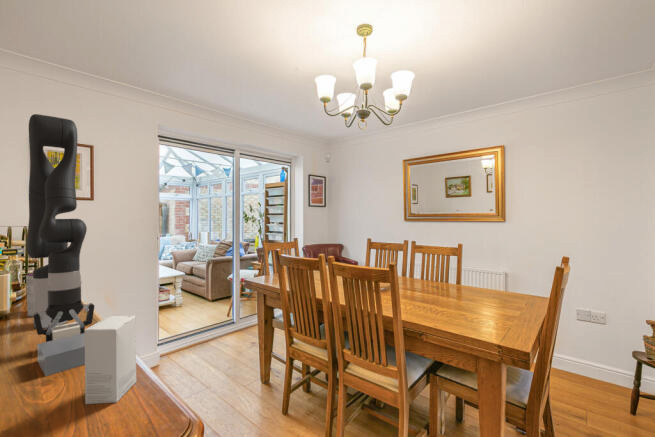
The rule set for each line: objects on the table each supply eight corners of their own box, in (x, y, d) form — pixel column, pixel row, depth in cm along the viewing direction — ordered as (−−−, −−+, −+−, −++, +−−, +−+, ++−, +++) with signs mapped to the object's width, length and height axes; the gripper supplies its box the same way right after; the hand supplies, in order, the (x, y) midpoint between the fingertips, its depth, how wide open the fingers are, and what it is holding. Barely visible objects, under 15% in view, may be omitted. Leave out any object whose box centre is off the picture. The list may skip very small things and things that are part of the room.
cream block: (51, 347, 91) (51, 327, 91) (77, 341, 96) (77, 321, 96) (53, 353, 87) (53, 332, 87) (80, 346, 91) (80, 326, 91)
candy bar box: (56, 308, 131) (55, 269, 131) (65, 308, 130) (65, 269, 130) (25, 316, 120) (25, 274, 120) (36, 317, 120) (35, 274, 119)
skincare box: (109, 383, 71) (107, 315, 71) (139, 381, 72) (138, 314, 71) (83, 405, 63) (81, 329, 62) (117, 403, 63) (116, 327, 63)
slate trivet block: (37, 362, 82) (37, 344, 82) (93, 347, 91) (92, 331, 91) (45, 377, 75) (45, 357, 75) (105, 359, 84) (104, 341, 84)
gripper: (92, 280, 99) (93, 333, 99) (30, 288, 89) (31, 347, 89) (97, 284, 94) (98, 339, 94) (31, 293, 83) (32, 355, 84)
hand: (65, 343), depth 91 cm, fingers closed on cream block, 6 cm apart
